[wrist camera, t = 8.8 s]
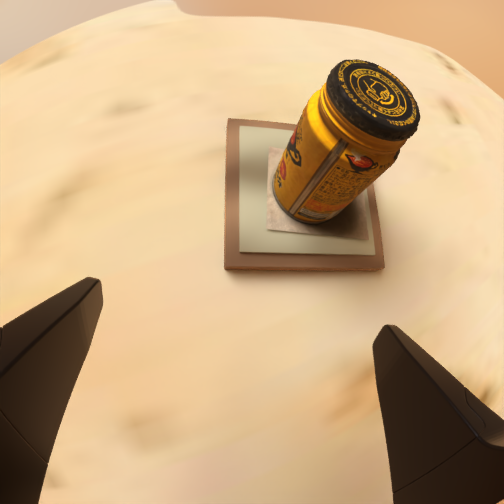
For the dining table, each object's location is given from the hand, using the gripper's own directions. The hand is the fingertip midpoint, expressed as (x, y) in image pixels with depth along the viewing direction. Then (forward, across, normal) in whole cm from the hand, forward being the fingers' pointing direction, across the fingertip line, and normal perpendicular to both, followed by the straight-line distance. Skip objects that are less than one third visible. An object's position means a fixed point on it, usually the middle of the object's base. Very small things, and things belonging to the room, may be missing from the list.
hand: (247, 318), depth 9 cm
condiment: (+17, -6, +1) cm, 18 cm away
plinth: (+18, -5, +2) cm, 18 cm away
